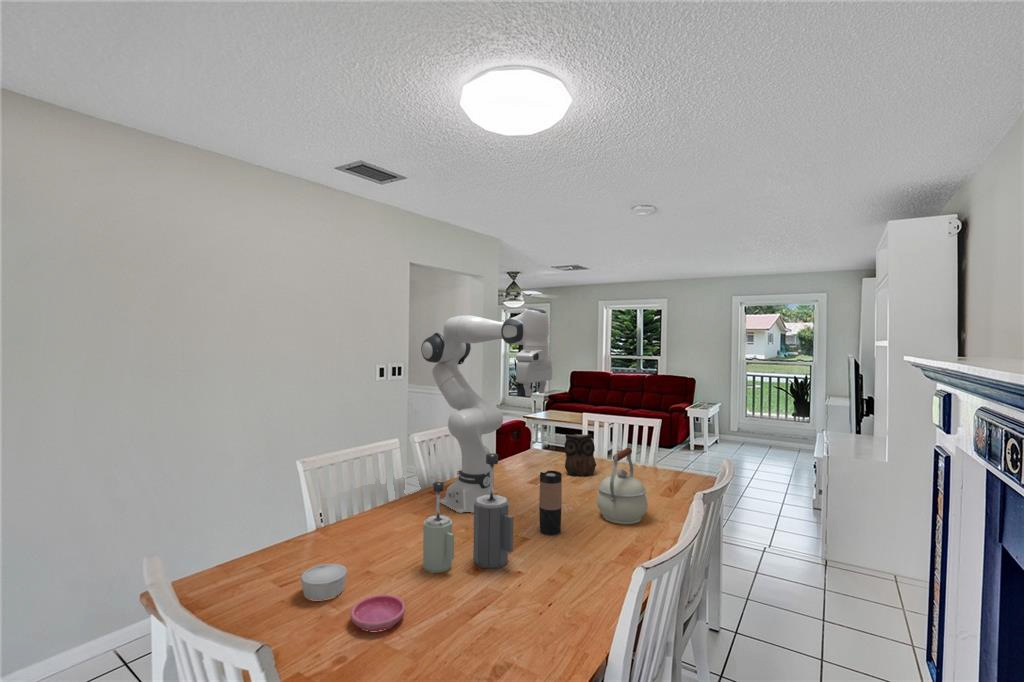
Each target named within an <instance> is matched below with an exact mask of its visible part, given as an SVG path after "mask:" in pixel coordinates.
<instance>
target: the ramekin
mask: <svg viewBox="0 0 1024 682" xmlns="http://www.w3.org/2000/svg"><path fill="white" fill-rule="evenodd" d="M347 573H348V570H347V567H345V566H344V565H342V564H339V563H327V564H326V563H324V564H318V565H315V566H312V567H310V568H308V569H307V570H305V571H304V572H303V573H302V575H301V576H300V582H301V584H302V593H303V596H304V598H306V599H307V598H308V599H313V600H324V599H328V598H332V597H335V596H337V595H338V596H340V595H341V594H342V592H343V591H344V588H345V583H346V578H347V575H348V574H347ZM340 593H341V594H340ZM339 594H340V595H339ZM338 596H337V597H338ZM335 598H336V597H335ZM308 599H307V600H308Z"/></svg>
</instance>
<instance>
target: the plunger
mask: <svg viewBox="0 0 1024 682" xmlns="http://www.w3.org/2000/svg"><path fill="white" fill-rule="evenodd" d="M498 463H499V454H498V453H493V452H490V454H486V464H490V500H493V499H494V495H495V494H494V492H495V486H494V485H495V479H494V478H495V465H498Z"/></svg>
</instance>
